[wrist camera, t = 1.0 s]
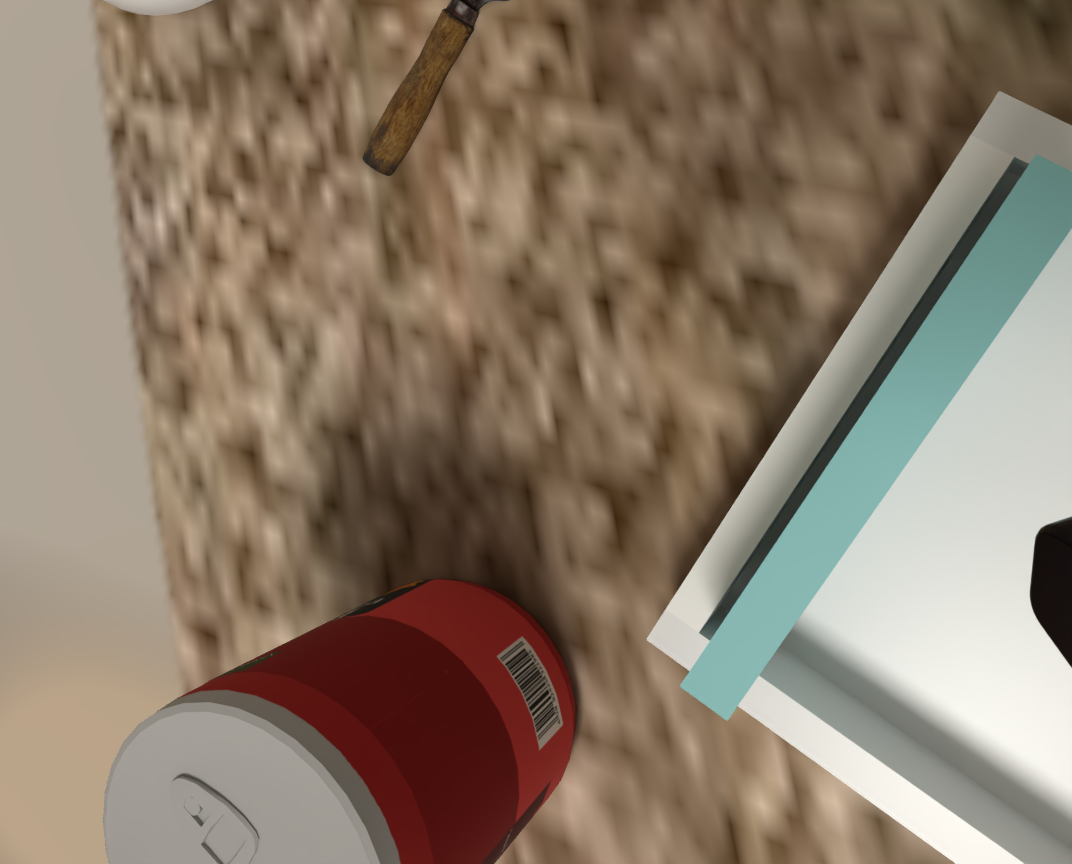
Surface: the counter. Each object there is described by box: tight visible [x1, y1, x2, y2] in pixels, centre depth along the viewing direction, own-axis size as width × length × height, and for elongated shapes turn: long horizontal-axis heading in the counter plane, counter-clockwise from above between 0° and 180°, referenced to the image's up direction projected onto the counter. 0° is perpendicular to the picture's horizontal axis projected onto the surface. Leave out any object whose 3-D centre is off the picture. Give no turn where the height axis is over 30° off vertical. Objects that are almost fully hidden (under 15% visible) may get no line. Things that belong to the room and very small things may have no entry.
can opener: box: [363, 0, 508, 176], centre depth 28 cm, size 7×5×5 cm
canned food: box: [103, 579, 576, 864], centre depth 26 cm, size 8×8×11 cm
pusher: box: [680, 154, 1072, 720], centre depth 22 cm, size 1×12×6 cm, turn 149°
